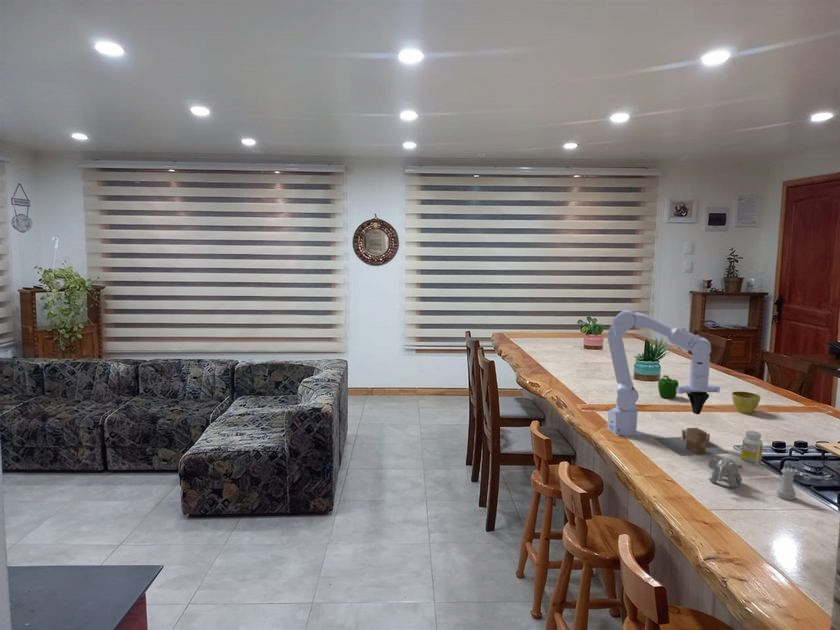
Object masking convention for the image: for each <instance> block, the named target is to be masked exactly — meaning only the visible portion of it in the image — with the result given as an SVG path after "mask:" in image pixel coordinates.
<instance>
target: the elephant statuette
mask: <svg viewBox="0 0 840 630" xmlns="http://www.w3.org/2000/svg"><path fill="white" fill-rule="evenodd" d="M708 467H709V469H710V470H712V472H711V476H709V481H710V482H711V483H712V484H717V482H719V483H720V482H721V481H722V478H726V479H727V480H728V481H729V482H728V483H729V487H731V488H733V489H734V488H738V487H739V484H741V483H742V480H743V479H742V478H743V477H742V476H741V473H740V472H739V471H740V469H742V468H743V465H742V463H738V464H737V463H735V462H734V461H733V459H731V458H721V459H720V460H718V459H717V458H716V457H714V458H711V459H710V460H709V461H708Z"/></svg>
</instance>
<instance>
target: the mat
mask: <svg viewBox="0 0 840 630" xmlns="http://www.w3.org/2000/svg"><path fill="white" fill-rule="evenodd" d="M681 438H682V436H676V437H675V436H674V437H672V436H671V437H654V438H653V440H656V441H657V442H658V443H660V444H661V445H663V446H665V447H666V448H667V449H670V450H671V451H673V452H674V453H676V454H678V455H679V457H680V456H681V457H683V456H686V457H687V456H701V455H702V456H703V455H722V454H723V455H724V454H726V455H727V454H729V452H728V451H727V450H725V449H723V448H722V447H719V446H717V445H715V444H714V443H712V442H710V441H709V444H706V450H705V454H694V453H692V452H690V451H689V450H687V449H686V442H685V441H683V440H681Z"/></svg>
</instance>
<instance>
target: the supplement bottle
mask: <svg viewBox="0 0 840 630" xmlns="http://www.w3.org/2000/svg"><path fill="white" fill-rule="evenodd" d="M761 438H762V434H761V432H758V431H754V430H747V431H746V432H745V437H743V439H742V444H741V446H742V447H741V456H740V459H741V460H740V462H743V463H744V464H748V465H751V466H753V465H754V466H759V465H761V463H762V454H763V444H764V443H763V440H761Z"/></svg>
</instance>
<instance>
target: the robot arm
mask: <svg viewBox="0 0 840 630" xmlns="http://www.w3.org/2000/svg"><path fill="white" fill-rule="evenodd" d="M634 326H635V327H634ZM633 327H634V328H635V329H637V328H638V329H639V328H647V329H648V330H650V331H653V332H656V333H658V334H660V335H663V336H665V337H667V338H668V341H669V343H671V344H673V345H675V346H677V347H679V348H681V349H683V350H686V351H689V352H690V351H691V359H690V366H689V380H688V384H687V385H682V386H678V387H677V389H676V392H677V394H680V395H681V394H686V395H687V397H688V398H689V402H690V405H691V410H692V413H693V414H695V415H701V412H702V409H703V407H704V405H705V404H706V401H708V399H709V398H710V394H709V393H720V391H721V386H718V385H710V384H709V379H710V378H709V376H710V364H711V362H710V358H711V356H710V354H711V353H712V345H711V342H710V341H709V339H707V338H705V337H703V336H700V335H699V334H694V333H691V332H690V331H687V330H686V327H683V326H682V327H678V326H677V327H673V328H672V327H670V326H669V325H666V324H664V323H662V322H660V321H659V320H656V319H654V318H652V317H651V316H649V315H646V314H644V313H642V312H639V311H635V310H634V309H632V308H625V309H624V310H622V311H620V312H619V313H618V314H617V315H616V316H615V317H614V318H613V319H612V321H611V324H610V327H609V328H608V331H607V333H606V336H607V337H606V338H607V342H608V347H609V351H610V356H611V360H612V365H613V371H614V375H615V378H616V379H615V380H616V393H617V395H616V400H615V401H616V402H615V403H616V405H615V407H613V408H610V409H609V410H608V414H607V427H606V429H607V430H608V431H609V430H610V431H609V432H611V434H613V433H614V434H613V435H615V436H618V437H620V436H619V435H622V436H641V435H642V433H641V432H640V431H638V430H637V428H638V413H639V407H638V406H637V404H636V403H637V402H638V400H639V392H638V391H637V390H636V388H635V385H634V383H633V380H632V378H631V373H630V368H629V364H628V359H627V354H626V349H625V345H624V341H623V340H624V339H623V336H624V335H625V334H626V333H627V331H629V330H630V329H631V328H633Z"/></svg>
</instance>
